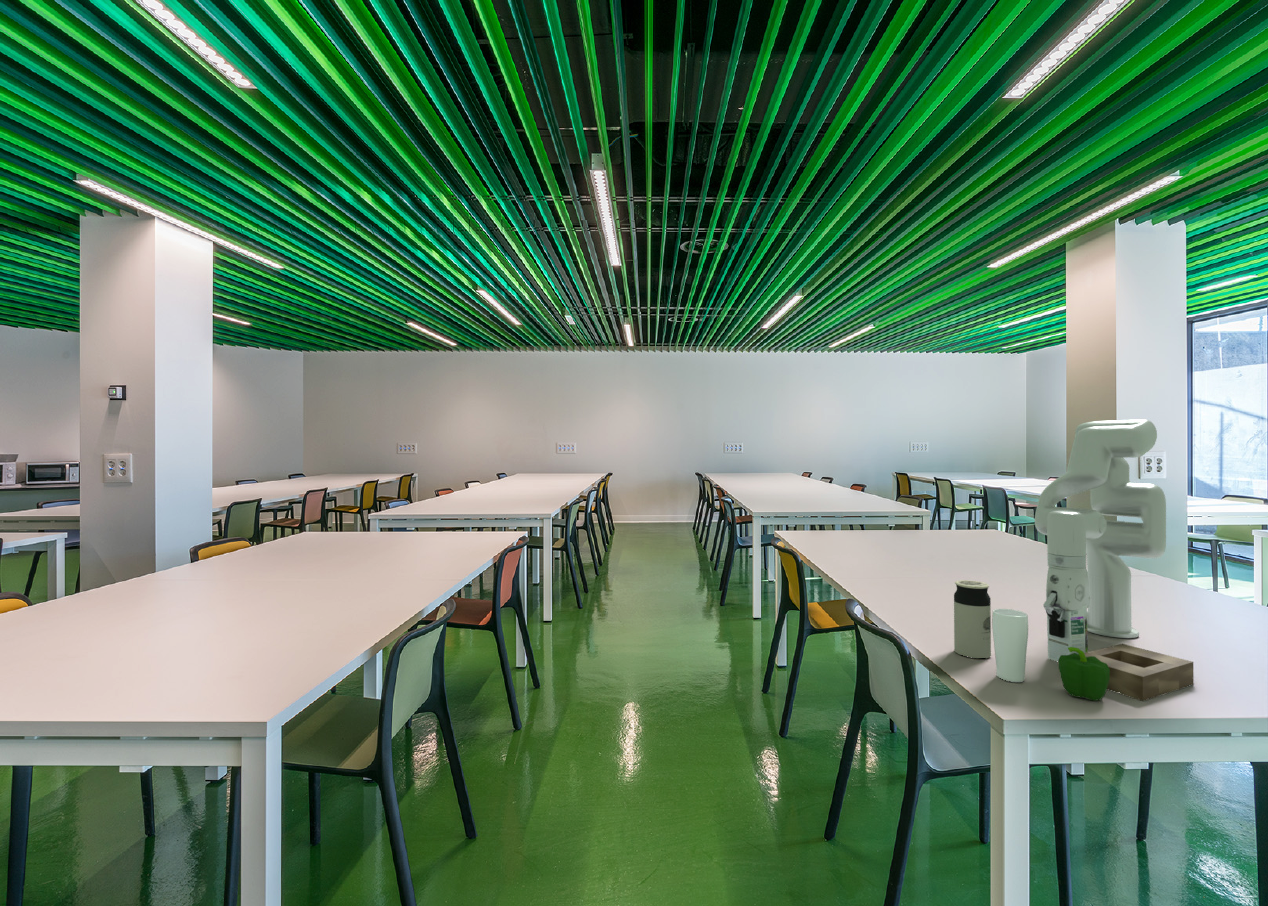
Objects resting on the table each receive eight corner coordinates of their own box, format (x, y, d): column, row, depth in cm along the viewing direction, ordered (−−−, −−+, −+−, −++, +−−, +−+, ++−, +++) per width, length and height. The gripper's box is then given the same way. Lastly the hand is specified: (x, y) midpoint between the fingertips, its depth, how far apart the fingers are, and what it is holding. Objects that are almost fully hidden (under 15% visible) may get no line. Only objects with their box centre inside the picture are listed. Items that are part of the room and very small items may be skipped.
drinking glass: (994, 670, 131) (994, 606, 131) (1029, 677, 127) (1029, 611, 127) (990, 679, 126) (990, 613, 126) (1027, 687, 122) (1026, 618, 122)
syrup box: (1070, 667, 133) (1070, 606, 133) (1046, 658, 139) (1046, 600, 139) (1088, 665, 135) (1088, 604, 135) (1064, 656, 140) (1063, 598, 140)
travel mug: (947, 651, 145) (946, 581, 145) (969, 647, 147) (968, 578, 147) (975, 661, 137) (975, 588, 137) (998, 657, 140) (997, 585, 140)
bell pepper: (1110, 695, 118) (1110, 647, 118) (1109, 708, 112) (1108, 658, 112) (1060, 684, 123) (1060, 639, 124) (1056, 696, 117) (1056, 648, 117)
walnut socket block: (1072, 678, 127) (1072, 656, 127) (1122, 664, 135) (1122, 643, 135) (1143, 701, 115) (1142, 676, 115) (1193, 684, 123) (1193, 661, 123)
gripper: (1061, 567, 130) (1062, 643, 130) (1105, 561, 137) (1105, 633, 137) (1027, 561, 137) (1028, 634, 137) (1071, 556, 144) (1071, 625, 144)
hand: (1067, 633), depth 137 cm, fingers open, 7 cm apart
